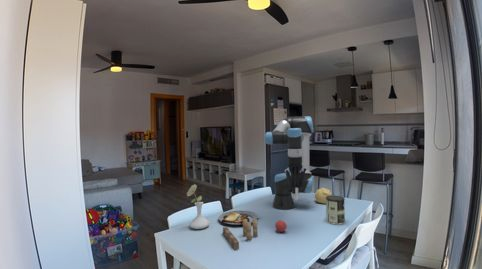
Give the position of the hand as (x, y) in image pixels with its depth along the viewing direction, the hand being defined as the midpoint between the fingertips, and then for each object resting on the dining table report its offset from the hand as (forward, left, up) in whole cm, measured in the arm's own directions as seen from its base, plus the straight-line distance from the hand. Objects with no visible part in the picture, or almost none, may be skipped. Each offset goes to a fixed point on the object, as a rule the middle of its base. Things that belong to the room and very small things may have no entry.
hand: (295, 199), depth 139 cm
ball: (0, -9, -13) cm, 16 cm away
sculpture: (-34, +45, -17) cm, 58 cm away
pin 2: (+2, -29, -16) cm, 33 cm away
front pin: (0, -24, -16) cm, 29 cm away
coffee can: (0, +27, -17) cm, 31 cm away
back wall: (0, -38, -16) cm, 41 cm away
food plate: (-26, -24, -17) cm, 39 cm away
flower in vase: (-24, -49, -17) cm, 57 cm away
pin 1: (-3, -29, -16) cm, 33 cm away
